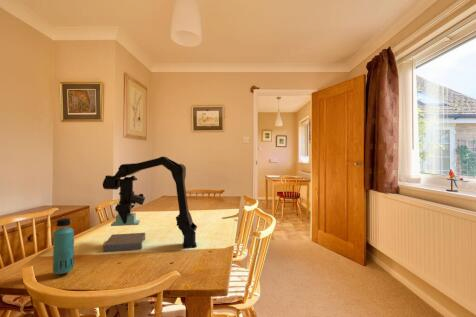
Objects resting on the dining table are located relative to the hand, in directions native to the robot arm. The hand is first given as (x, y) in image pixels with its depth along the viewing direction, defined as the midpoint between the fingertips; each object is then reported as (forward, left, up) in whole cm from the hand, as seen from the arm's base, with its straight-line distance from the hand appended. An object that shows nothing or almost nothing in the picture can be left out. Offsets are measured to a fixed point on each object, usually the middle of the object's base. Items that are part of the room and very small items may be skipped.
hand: (126, 221), depth 122 cm
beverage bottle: (-28, +16, -11) cm, 34 cm away
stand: (0, 0, -11) cm, 11 cm away
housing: (0, 0, -1) cm, 1 cm away
